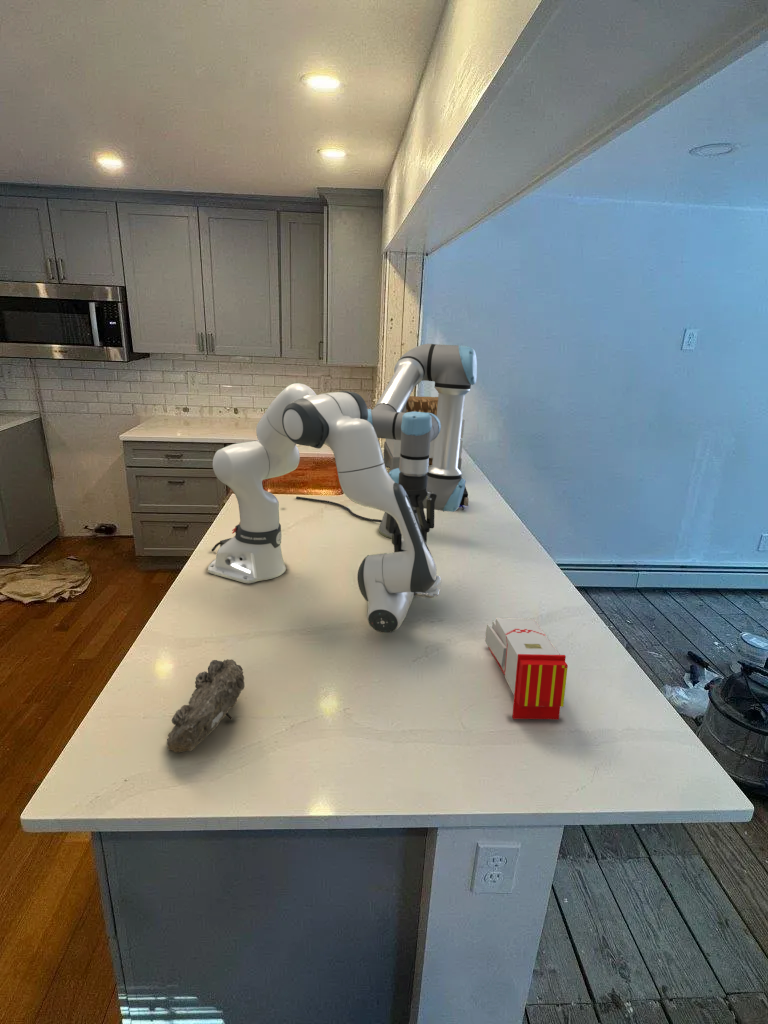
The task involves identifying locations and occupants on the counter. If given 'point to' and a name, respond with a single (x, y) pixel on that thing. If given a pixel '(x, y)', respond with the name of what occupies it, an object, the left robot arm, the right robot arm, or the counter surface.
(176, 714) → the fossil
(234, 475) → the left robot arm
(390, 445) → the grey slatted crate
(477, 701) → the counter surface
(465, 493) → the figurine character
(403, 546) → the lid
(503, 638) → the toy
